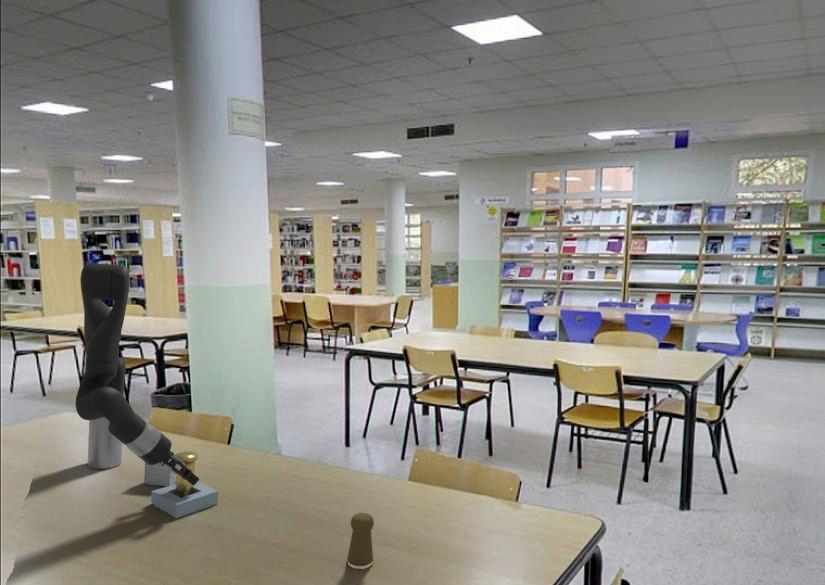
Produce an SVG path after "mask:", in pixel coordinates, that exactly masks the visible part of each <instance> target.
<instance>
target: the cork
mask: <svg viewBox="0 0 825 585" xmlns="http://www.w3.org/2000/svg"><path fill="white" fill-rule="evenodd" d="M351 517H352V518H351V519H350V520H351V521H350V527H351V529H352V531H351V532H352V534H351V538H350V543H349V549H348V554H347V559H346V561H347V560H348V562H349V563H350V564H352V565H355V566H365V565H368V564H370V563H371V562H372V561H373V562H374V554H373V553H374V552H373V540H372V530H373V527H374V525H375V521H374V520H375V519H374V517H373V516H372V515H371V514H369V513H368V512H357V513H355V514H354V515H353V516H351Z"/></svg>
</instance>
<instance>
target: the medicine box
mask: <svg viewBox="0 0 825 585" xmlns="http://www.w3.org/2000/svg"><path fill="white" fill-rule="evenodd" d="M173 453H174V454H177V453H178V452H173ZM143 477H144V479H143V482H144V483H143V484H144V485H145V484H147V485H148V486H159V487H167V486H171V485H174V484H176V474H174V473H173V472H172V471H170V470H169V469H166V468H165V467H164V466H162V465H161V464H160V463H159V462H158V463H157V464H155V465H149V464H147V463H146V462H145V461H144V476H143Z"/></svg>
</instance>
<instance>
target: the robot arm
mask: <svg viewBox="0 0 825 585" xmlns="http://www.w3.org/2000/svg"><path fill="white" fill-rule="evenodd" d="M79 278H80V291H81V297H82V304H83V305H82V306H83V313H84V315H83V316H84V318H83V334H84V343H85V345H84V346H85V362H84V363H85V365H84V373H83V376H82V378H81V381H80V384H79V387H78V391H77V393H76V397H75V410H76V412H77V414H78V416H79V417H80V418H81V419H82V420H85V421H89V422H88V445H87V446H88V447H87V467H88V468H90V469H95V470H104V469H111V468H116V467H117V466H119V465H121V464H122V459H123V458H122V455H123V454H122V453H123V445H125V446H126V448H127V449H128V450H129V451H130V452H131V453H133V454H134V455H135V456H137V457H138V458H140V459H141V460H142V461H143V462H144V463H145V462H146V463H147V464H149V465H155V464H157V463H158V462H159V463H160V464H161V465H162V466H164V467H165V468H166V469H169V470H170V471H172V472H173V473H174V474H176V475H177V474H179V475H180V476H181V477H182V478H183V479H185V480H187V481H188V482H190V483H191V484H192V485H195V484H196V483H197V482H199V481H200V477H198V476H197V475H196V474H195V475H194V474H193V473H192V471H191V470H190V469H188V468H187V467H186V466H185V463H184V462H182V461H181V460H180V459H179V458H178V456H177V455H176V454H174V453H175V452H173V451H171V450H172V445H173V444H172V440H170V439H169V438H168V437H166V436H165V435H164V434H163V433H162V432H161V431H159V430H158V429H157V428H156V427H155V426H154V425H152V424H150V423H149V422H147V421H146V420H144V419H143V418H142V417H141V416H140V415H139V414H137V413H136V412H135V411H134V410H133V408H132V406H131V405H130V403H129V401H127V398H126V396H124V394H125V393H124V392H125V391H124V390H125V380H126V370H127V369H126V368H127V367H126V361H125V359H124V358H123V357H119V353H120V352H119V351H120V350H119V348H120V343H121V340H122V329H123V327H124V326H123V325H124V320H125V315H126V310H127V304H128V300H129V299H128V297H129V292H130V283H131V282H130V281H131V280H130V278H131V277H130V271H129V268H128V267H127V266H126V265H124V264H123V265H122V264H111V263H110V264H109V263H97V262H95V263H94V262H91V263H87V264H85V265H84V266H83V267H82V269H81V272H80V277H79ZM103 300H110V301H113V305H112V308H110V307H109V306H108V305H107V304H105V303H104V302H103ZM177 460H178V461H177Z"/></svg>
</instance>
